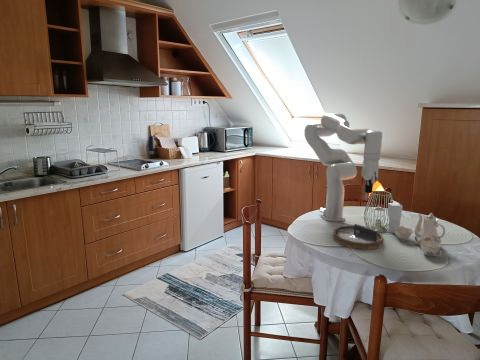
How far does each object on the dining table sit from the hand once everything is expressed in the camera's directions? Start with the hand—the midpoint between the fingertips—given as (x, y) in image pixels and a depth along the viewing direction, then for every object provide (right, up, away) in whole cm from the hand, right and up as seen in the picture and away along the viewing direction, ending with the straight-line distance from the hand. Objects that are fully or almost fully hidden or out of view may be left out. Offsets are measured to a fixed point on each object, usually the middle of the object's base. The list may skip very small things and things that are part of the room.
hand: (368, 192), depth 178 cm
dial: (-7, -22, -5) cm, 23 cm away
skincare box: (+15, -20, +9) cm, 26 cm away
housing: (-7, -23, -5) cm, 24 cm away
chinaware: (+21, -25, -11) cm, 34 cm away
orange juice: (+15, -15, +31) cm, 37 cm away
